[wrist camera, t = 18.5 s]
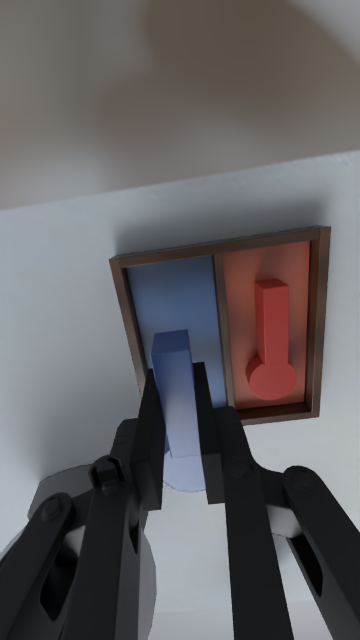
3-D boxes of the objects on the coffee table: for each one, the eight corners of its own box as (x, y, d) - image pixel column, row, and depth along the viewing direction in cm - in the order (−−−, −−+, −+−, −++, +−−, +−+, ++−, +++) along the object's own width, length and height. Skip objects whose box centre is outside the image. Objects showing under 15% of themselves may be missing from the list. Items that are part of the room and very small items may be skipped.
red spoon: (239, 283, 22) (247, 290, 20) (291, 275, 22) (305, 283, 20) (246, 392, 26) (253, 410, 24) (290, 387, 26) (301, 404, 24)
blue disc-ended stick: (133, 335, 15) (125, 357, 13) (208, 325, 15) (214, 345, 13) (164, 474, 19) (163, 511, 17) (224, 468, 19) (231, 504, 17)
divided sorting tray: (114, 255, 22) (108, 259, 20) (316, 225, 22) (331, 226, 19) (152, 420, 29) (150, 436, 27) (309, 402, 28) (319, 417, 26)
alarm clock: (145, 453, 30) (102, 749, 13) (168, 509, 34) (157, 800, 17) (18, 478, 32) (-167, 775, 15) (53, 530, 35) (-63, 817, 18)
